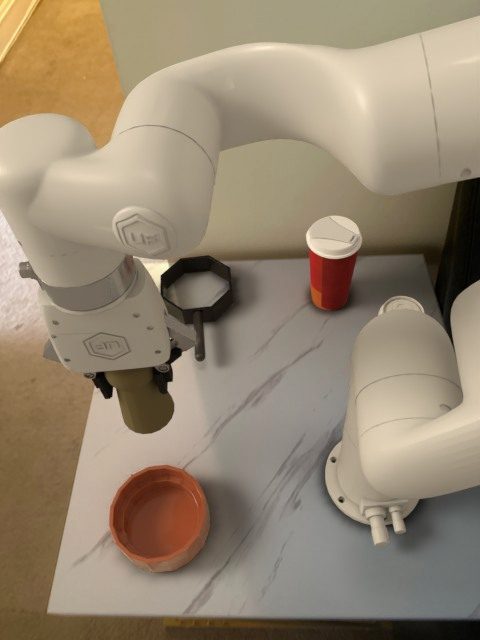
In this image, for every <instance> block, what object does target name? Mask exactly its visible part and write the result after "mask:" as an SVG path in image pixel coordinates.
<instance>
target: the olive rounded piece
mask: <svg viewBox="0 0 480 640" xmlns="http://www.w3.org/2000/svg"><path fill="white" fill-rule="evenodd" d="M153 372H154V366H152V367H145V368H135V369H125V370H114V371H104V375H105V378H106V379H107V381H108V382H109V383H110V384H111V385H112V386H113V389H115V391H116V395H117V399H118V404H119V408H120V413H121V416H122V420H123V423H124V425H125V426H126V427H127V429H128V430H130V431H132V432H133V433H136V434H140V435H150V434H154V433H157V432H158V431H161V430H162V429H164V428H165V427H166V426H168V424H169V423H170V422H171V420H172V419H173V416H174V414H175V401H174V399H173V397H172V395H171V394H170V392H169V391H168V392H167V394H162V393H160V391H159V389H158V386H157V383H156V381H155V378H154V374H153Z"/></svg>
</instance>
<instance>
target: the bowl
mask: <svg viewBox="0 0 480 640" xmlns="http://www.w3.org/2000/svg"><path fill="white" fill-rule="evenodd" d="M210 513H211V512H210V507H209V504H208V501H207V498H206V495H205V493H204V491H203V489H202V487H201V485H200V483H199V481H198V479H196V478H195V477H194V476H193V475H191V473H189V471H186V470H185V469H184V468H180V467H177V466H174V465H171V464H159V465H151V466H147V467H145V468H143V469H141V470H139V471H137V472H135V473H133V474H131V475H130V476H129V477H128V478H127V479H126V480H125V481H124V482H123V483H122V484H121V486H119V487H118V488H117V491H116V493H115V496H114V498H113V499H112V502H111V504H110V507H109V519H108V527H109V531H110V534H111V536H112V539H113V542H114V544H115V546H116V547H117V548H118V549H119V551H120V552H121V553H122V554H123V555H124V556H125V557H126V558H127V559H128V560H129V561H130V562H131V563H132V564H133V565H134V566H135V567H137V568H140V569H142V570H145V571H147V572H152V573H154V574H155V573H164V572H165V573H166V572H173V571H176V570H178V569H179V568H181V567H183V566H185V565H187V564H188V563H191V561H193V559H194V558H195V557H196V556H197V554H198V553H200V551H201V550H202V549H203V547H204V546H205V543H206V541H207V537H208V535H209V532H210V529H211V516H210V515H211V514H210Z"/></svg>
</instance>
